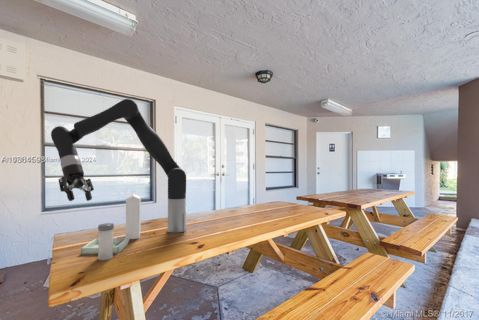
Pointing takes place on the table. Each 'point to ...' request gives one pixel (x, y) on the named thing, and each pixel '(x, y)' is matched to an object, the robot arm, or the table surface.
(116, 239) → the ball
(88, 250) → the tray
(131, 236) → the milk
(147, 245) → the table surface
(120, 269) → the table surface
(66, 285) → the table surface
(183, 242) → the table surface
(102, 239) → the shaker
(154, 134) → the robot arm
